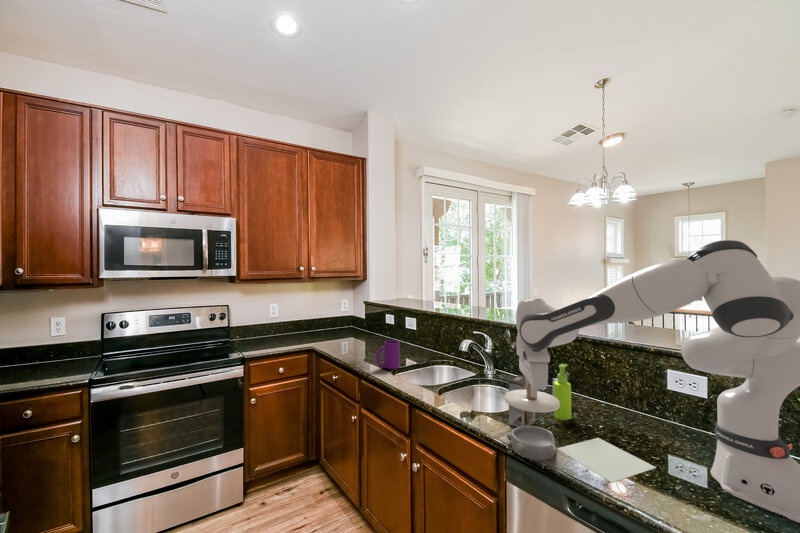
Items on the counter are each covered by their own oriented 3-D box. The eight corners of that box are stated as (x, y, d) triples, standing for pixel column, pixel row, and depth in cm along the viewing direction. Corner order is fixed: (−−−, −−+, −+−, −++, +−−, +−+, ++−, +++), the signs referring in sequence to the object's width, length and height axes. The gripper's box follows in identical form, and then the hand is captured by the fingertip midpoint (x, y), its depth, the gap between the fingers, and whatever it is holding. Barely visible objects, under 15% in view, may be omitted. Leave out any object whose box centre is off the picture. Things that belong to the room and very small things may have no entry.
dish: (549, 440, 110) (549, 425, 110) (564, 465, 96) (564, 447, 96) (504, 438, 112) (504, 423, 112) (513, 461, 98) (512, 444, 98)
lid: (569, 403, 103) (569, 387, 103) (542, 417, 93) (542, 399, 93) (523, 389, 116) (522, 374, 116) (494, 400, 106) (494, 384, 106)
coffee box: (519, 416, 128) (519, 374, 128) (535, 421, 124) (535, 378, 124) (508, 424, 122) (507, 380, 122) (525, 430, 117) (524, 384, 117)
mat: (656, 469, 94) (656, 467, 94) (611, 484, 87) (611, 482, 87) (598, 439, 110) (598, 437, 110) (557, 450, 104) (556, 448, 104)
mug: (403, 367, 194) (402, 341, 194) (381, 372, 184) (381, 345, 184) (393, 364, 201) (393, 339, 201) (372, 369, 191) (372, 343, 191)
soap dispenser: (574, 416, 128) (573, 364, 128) (568, 422, 123) (568, 368, 123) (558, 412, 132) (557, 361, 132) (552, 417, 127) (551, 365, 127)
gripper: (514, 342, 115) (514, 382, 115) (528, 357, 95) (529, 406, 95) (533, 342, 114) (533, 383, 114) (551, 358, 94) (552, 407, 94)
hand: (531, 393), depth 104 cm, fingers closed on lid, 3 cm apart
